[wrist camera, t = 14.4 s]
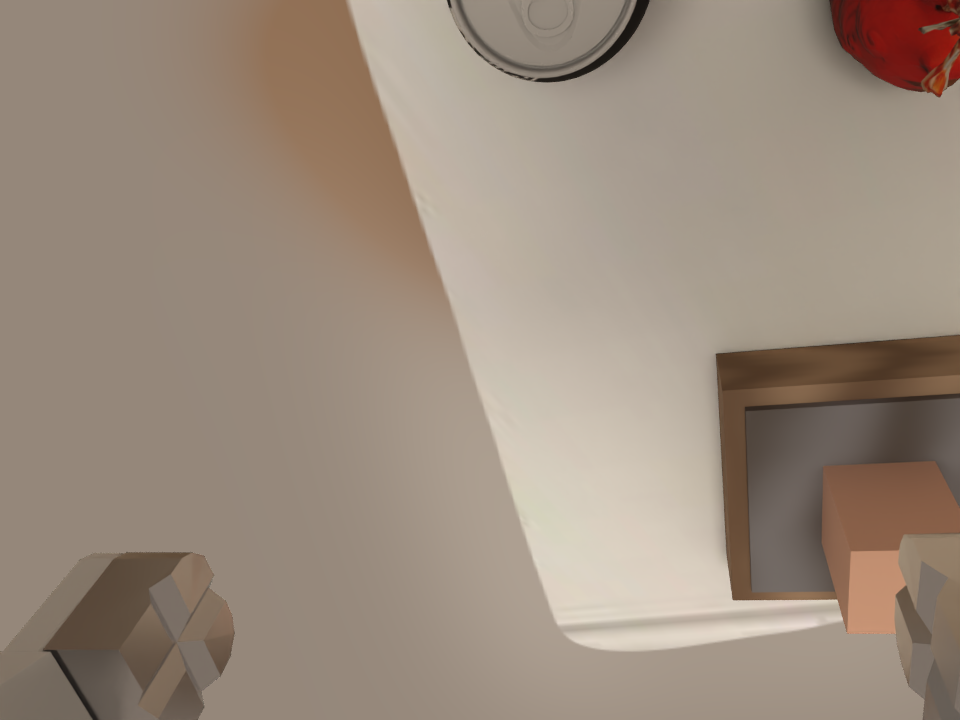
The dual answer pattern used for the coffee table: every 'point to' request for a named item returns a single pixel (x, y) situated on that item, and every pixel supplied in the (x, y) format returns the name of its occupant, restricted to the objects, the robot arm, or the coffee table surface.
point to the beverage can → (547, 34)
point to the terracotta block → (878, 532)
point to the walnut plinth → (822, 445)
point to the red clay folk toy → (903, 40)
